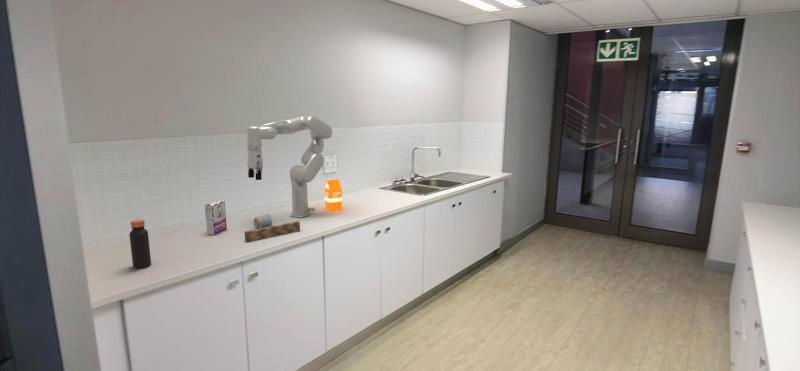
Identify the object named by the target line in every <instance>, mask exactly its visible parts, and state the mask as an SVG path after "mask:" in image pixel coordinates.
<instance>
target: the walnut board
mask: <svg viewBox="0 0 800 371" xmlns="http://www.w3.org/2000/svg"><path fill="white" fill-rule="evenodd" d="M300 225H301V222H300V221H297V220H296V221H292V222H287V223H282V224H276V225H272V226H270V227H265V228H260V229H256V228H255V229H252V230H251V229H250V230H246V231H244V232H243V233H244V242H246V243H250V242H255V241H260V240H265V239H268V238H274V237H278V236H283V235H287V234H292V233H297V232H300V231H301V226H300Z"/></svg>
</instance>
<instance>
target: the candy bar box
mask: <svg viewBox="0 0 800 371" xmlns="http://www.w3.org/2000/svg"><path fill="white" fill-rule="evenodd" d="M204 210H205V211H204V212H205V213H204V214H205V223H206V232H207V233H206V234H207V235H209V236H216V235H217V234H221V233H223V232H224V231H226V230H228V227H227V226H228V225H227V217H226V216H227V215H226V213H227V211H226V202H225V200H214V201H212V202H209V203H207V204H204Z"/></svg>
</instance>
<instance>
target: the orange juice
mask: <svg viewBox="0 0 800 371" xmlns="http://www.w3.org/2000/svg"><path fill="white" fill-rule="evenodd" d="M324 209H325V210H326V211H327V212H335V211H336V212H338V211H342V210H343V190H342V185H341V182H340V179H339V178H338V179H328V180H326V183H325V186H324Z"/></svg>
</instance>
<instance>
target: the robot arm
mask: <svg viewBox="0 0 800 371" xmlns="http://www.w3.org/2000/svg"><path fill="white" fill-rule="evenodd" d="M305 130H306V131H307V130H308V131H310V137H311V141H310V144H309V145H308V147H307V148H306V150H305V152H303V154H302V156H301V158H300V163H301V164H302V165H301V164H294V165H293V166H292V167H291V168H290V170H289V178H290V184H291V204H292V206H291V207H292V212H290V214H289V216H290V217H292V218H300V219H301V218H307V217H310V216H311V215H312V214H311V212H312V211H316V207H311V206H310V207H309V201H308V199H309V198H308V183H310V182H312V181H313V180H314V179H315V177H317V175H318V173H319V172H320V170H322V167H323V166H324V162H325V158H324V156H323V154H322V152H323V150H324V148H325V141H324V140H327V139H330V138H331V137H332V135H333V129H332V127H331V126H330V125H329V124H327V123H325V122H324V121H323V120H321V119H320V118H318V117H316V116H314V115H310V114H309V115H306V114H305V115H299V116H296V117H295V116H294V117H292V118H288V119H283V120H279V121H273V122H269V123H265V124H261V125H259V126H254V125H252V126H251V125H250V126H247V128H246V137H247V138H246V139H247V140H246V141H247V171H248V172H247V174H248V175H247V176H248V178H249V179H251V178H255V180H256V181H261V180H262V176H263V175H262V174H263V172H262V171H263V167H264V163H263V162H264V160H263V154H262V149H263V147H262V143H263V142H262V140H267V141H268V140H273V139H275V138H276V137H277V136H278V135H293V134H294V133H298V132H302V131H305Z"/></svg>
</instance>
